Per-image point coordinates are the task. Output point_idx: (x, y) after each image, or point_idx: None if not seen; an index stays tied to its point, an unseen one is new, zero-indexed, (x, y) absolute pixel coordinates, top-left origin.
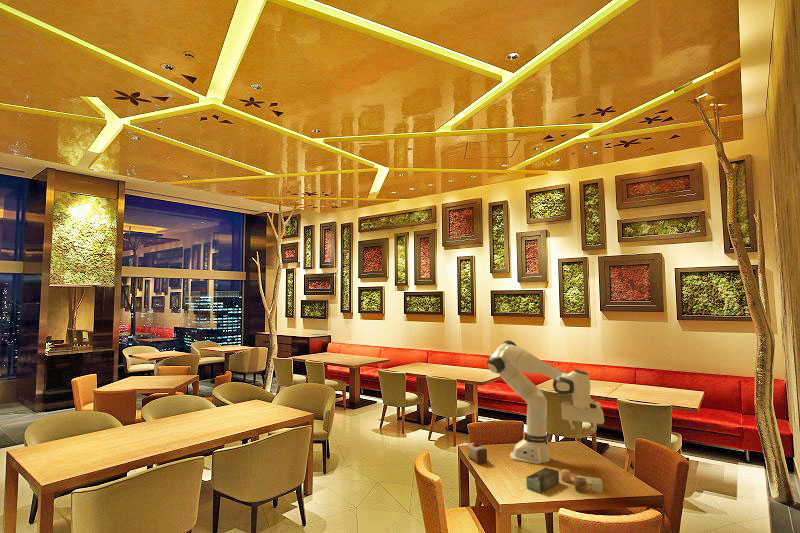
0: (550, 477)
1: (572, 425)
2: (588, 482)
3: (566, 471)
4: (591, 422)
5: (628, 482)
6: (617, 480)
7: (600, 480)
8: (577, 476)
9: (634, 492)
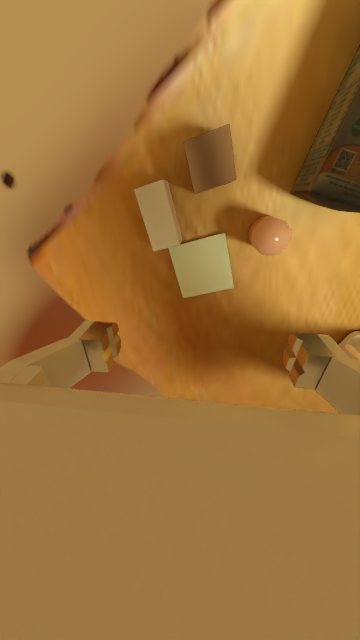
0: (357, 85)
1: (330, 370)
2: (193, 247)
3: (270, 231)
4: (17, 387)
5: (107, 312)
6: (132, 312)
7: (149, 229)
8: (230, 281)
9: (74, 249)
